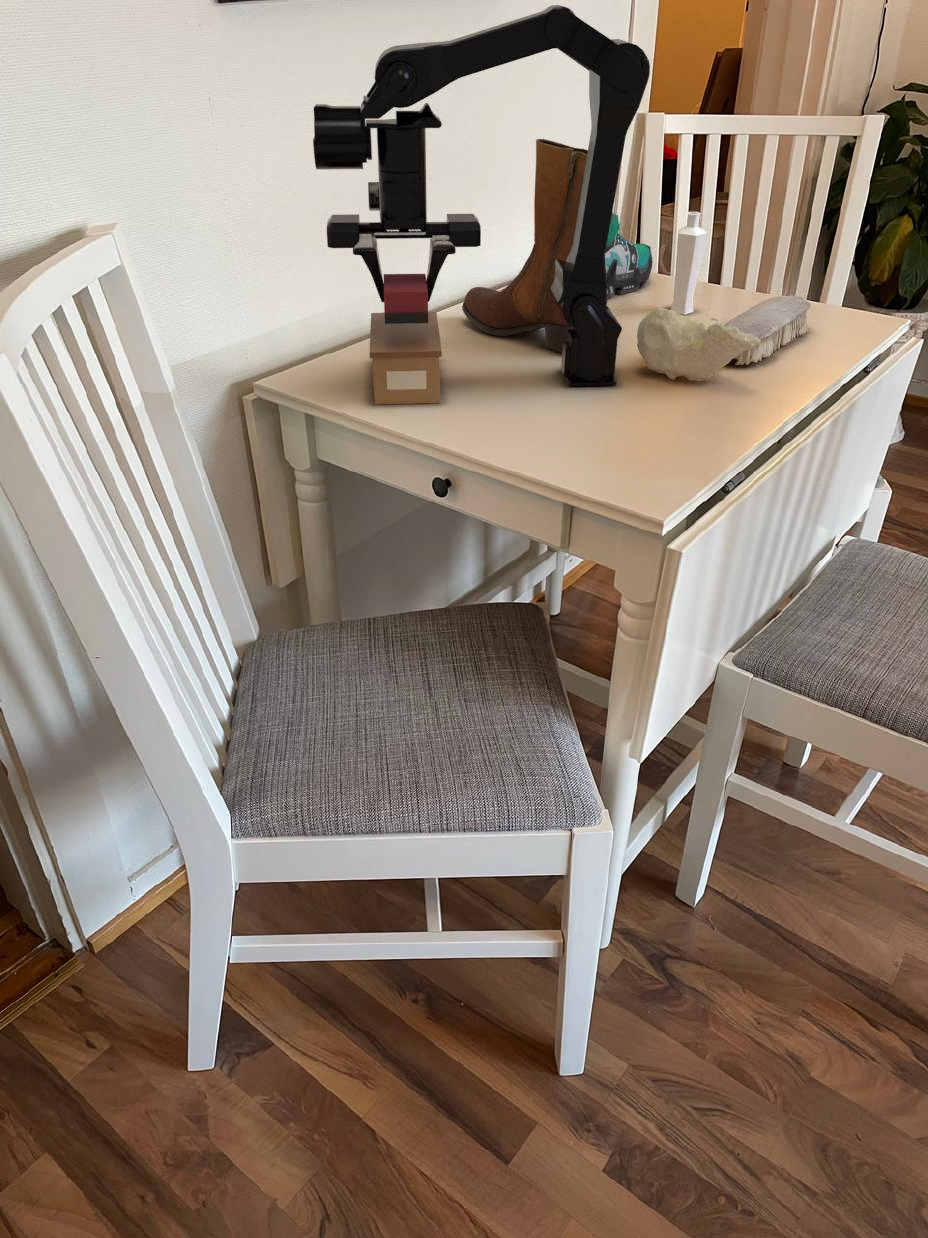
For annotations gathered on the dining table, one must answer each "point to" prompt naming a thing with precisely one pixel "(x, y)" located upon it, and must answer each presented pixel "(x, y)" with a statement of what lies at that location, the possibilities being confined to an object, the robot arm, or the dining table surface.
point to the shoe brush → (771, 325)
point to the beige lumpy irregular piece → (689, 345)
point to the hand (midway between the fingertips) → (405, 300)
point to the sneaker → (625, 262)
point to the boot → (538, 253)
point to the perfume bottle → (688, 263)
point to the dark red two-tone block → (405, 298)
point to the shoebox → (405, 361)
